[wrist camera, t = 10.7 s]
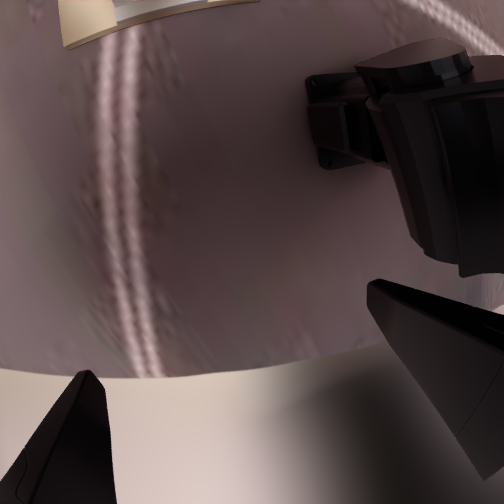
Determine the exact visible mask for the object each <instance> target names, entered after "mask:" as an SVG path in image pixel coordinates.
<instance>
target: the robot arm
mask: <svg viewBox="0 0 504 504" xmlns="http://www.w3.org/2000/svg"><path fill="white" fill-rule="evenodd" d="M354 67H355V69H356V71H357V72H355V73H335V74H321V75H312V76H309V77H308V78H307V79H306V87H307V93H308V98H309V103H310V104H309V106H308V113H309V118H310V124H311V130H312V136H313V142H314V144H316V145H317V150H318V156H319V163H320V166H321V167H322V168H323V169H325V170H333V169H338V168H342V167H347V166H351V165H356V164H360V163H365V162H367V163H371V164H374V165H377V166H380V167H383V168H386V169H389V170H391V173H392V176H393V179H394V182H395V185H396V188H397V191H398V195H399V198H400V201H401V205H402V208H403V212H404V216H405V219H406V223H407V227H408V230H409V233H410V236H411V237H412V238H413V239H414V241H415V242H416V243H417V244H418V245H419V246H420V247H421V248H423V250H424V254H425V255H426V256H428V257H431V258H433V259H435V260H437V261H441V262H445V263H450V264H458V267H459V276H460V277H462V278H465V277H469V276H474V275H478V274H482V273H502V274H504V56H502V55H487V56H472V57H468V55H467V52H466V49H465V48H464V47H463V46H461V45H459V44H457V43H455V42H453V41H450V40H448V39H446V38H438V39H432V40H426V41H420V42H415V43H411V44H408V45H405V46H402V47H400V48H397V49H394V50H391V51H389V52H386V53H384V54H381V55H378V56H376V57H373V58H371V59H368V60H366V61H364V62H361V63H359V64H356V65H354ZM313 79H314V80H315V81H316V85H315V86H314V85H313V84H312V80H313ZM327 160H329V164H328V165H327V166H326V161H327ZM367 307H368V309H369V311H370V313H371V315H372V316H373V318H374V320H375V321H376V323H377V325H378V326H379V328H380V330H381V331H382V333H383V335H384V336H385V338H386V340H387V341H388V343H389V345H390V346H391V347H392V349H393V350H394V351H395V353H396V354H397V355H398V356H399V358H400V359H401V361H402V362H403V364H404V365H405V366H406V368H407V369H408V370H409V372H410V373H411V374H412V376H413V377H414V379H415V380H416V381H417V383H418V384H419V386H420V387H421V388H422V390H423V391H424V393H425V394H426V395H427V397H428V398H429V400H430V401H431V402H432V404H433V405H434V407H435V408H436V410H437V411H438V413H439V414H440V415H441V417H442V418H443V420H444V421H445V423H446V424H447V426H448V427H449V429H450V430H451V432H452V433H453V435H454V436H455V437H456V439H457V441H458V443H459V444H460V446H461V447H462V449H463V450H464V452H465V453H466V455H467V456H468V458H469V459H470V461H471V463H472V464H473V466H474V467H475V469H476V471H477V472H478V474H479V475H480V477H481V479H482V480H483V481H486V480H487V479H488V478H490V477H491V476H492V475H494V474H495V473H496V472H497V471H499V470H500V469H501V468H502V467H504V315H502V314H498V313H495V312H491V311H487V310H484V309H481V308H477V307H474V308H473V306H471V305H467V304H464V303H461V302H457V301H454V300H451V299H448V298H444V297H441V296H438V295H434V294H431V293H427V292H424V291H421V290H417V289H414V288H411V287H407V286H404V285H401V284H397V283H394V282H390V281H387V280H384V279H380V278H379V279H375V280H373V281H371V282H369V283H368V285H367ZM0 504H117V500H116V493H115V484H114V475H113V463H112V449H111V434H110V425H109V417H108V410H107V401H106V393H105V389H104V387H103V385H102V384H101V383H100V381H99V380H98V379H97V377H96V376H95V375H94V373H93V372H92V371H91V370H83V371H79V372H78V373H77V374H76V375H75V377H74V378H73V379H72V381H71V382H70V383H69V385H68V386H67V387H66V389H65V390H64V392H63V393H62V394H61V396H60V397H59V398H58V400H57V401H56V402H55V404H54V405H53V406H52V408H51V409H50V411H49V412H48V414H47V415H46V416H45V418H44V419H43V421H42V422H41V423H40V425H39V426H38V428H37V429H36V431H35V432H34V433H33V435H32V436H31V438H30V439H29V441H28V443H27V444H26V445H25V448H24V449H23V450H22V451H21V453H20V454H19V456H18V457H17V459H16V460H15V462H14V463H13V465H12V466H11V467H10V469H9V470H8V472H7V473H6V474H5V476H4V477H3V478H2V480H1V481H0Z"/></svg>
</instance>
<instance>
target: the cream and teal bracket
mask: <svg viewBox="0 0 504 504" xmlns="http://www.w3.org/2000/svg"><path fill="white" fill-rule="evenodd" d="M259 1H260V0H58V6H59V16H60V24H61V32H62V39H63V45H64V47H65V48H66V49H68V50H70V49H72V48H75V47H77V46H79V45H82V44H84V43H86V42H89V41H91V40H94V39H96V38H99V37H101V36H104V35H107V34H109V33H112V32H115V31H118V30H121V29H124V28H127V27H130V26H133V25H136V24H140V23H143V22H146V21H150V20H154V19H157V18H161V17H165V16H169V15H174V14H178V13H182V12H187V11H192V10H197V9H203V8H209V7H215V6H222V5H229V4H238V3H248V2H259Z"/></svg>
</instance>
